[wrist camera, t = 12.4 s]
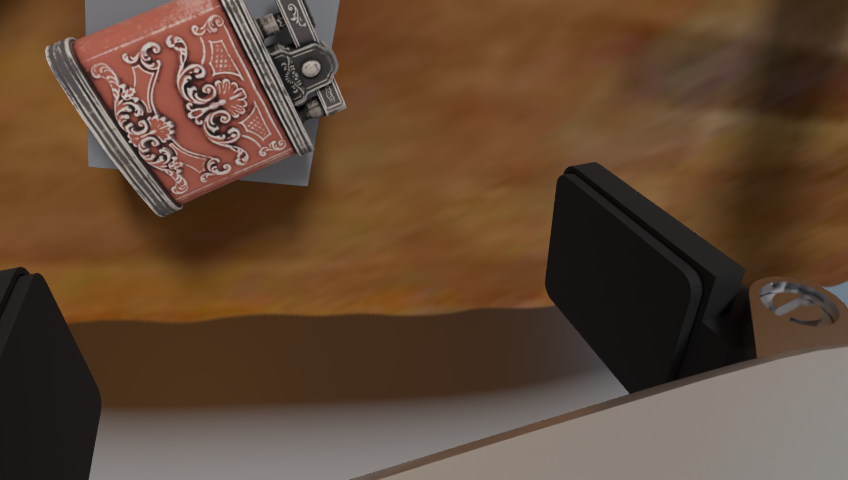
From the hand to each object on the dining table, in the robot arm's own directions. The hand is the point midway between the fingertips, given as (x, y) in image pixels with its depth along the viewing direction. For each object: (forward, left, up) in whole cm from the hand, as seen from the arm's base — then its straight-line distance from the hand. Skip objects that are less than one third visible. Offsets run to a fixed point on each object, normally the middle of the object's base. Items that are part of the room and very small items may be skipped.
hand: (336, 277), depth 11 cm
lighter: (+7, +3, -17) cm, 18 cm away
